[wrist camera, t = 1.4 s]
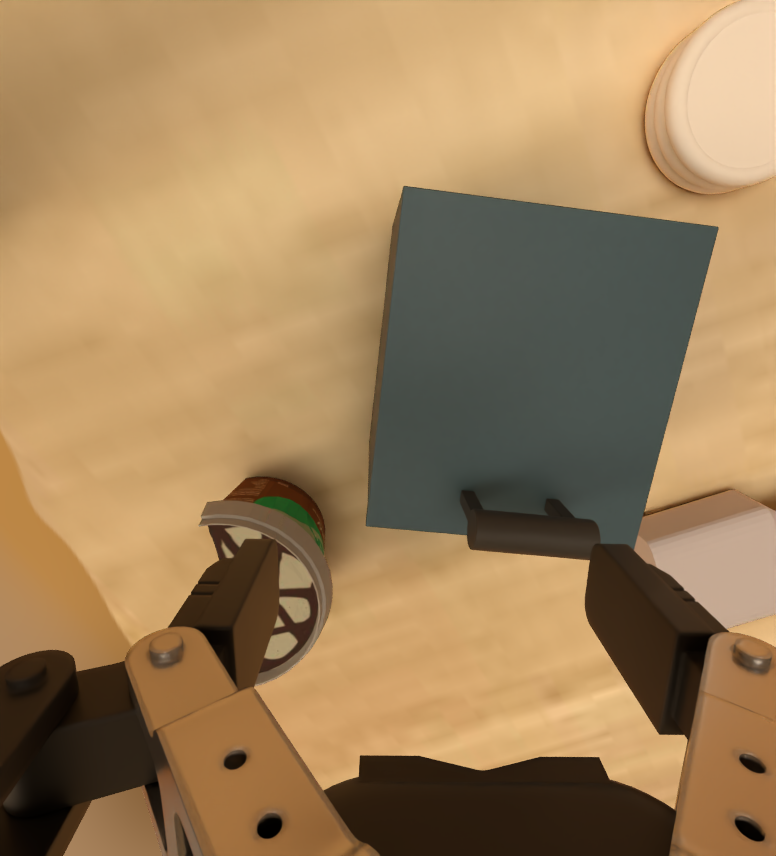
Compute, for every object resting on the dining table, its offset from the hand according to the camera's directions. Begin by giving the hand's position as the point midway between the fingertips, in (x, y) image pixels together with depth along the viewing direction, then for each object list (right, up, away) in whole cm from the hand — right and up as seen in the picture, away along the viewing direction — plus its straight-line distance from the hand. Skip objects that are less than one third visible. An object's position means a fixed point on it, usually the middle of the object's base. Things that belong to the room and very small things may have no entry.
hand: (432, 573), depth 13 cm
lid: (+6, +6, +13) cm, 15 cm away
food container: (-8, -4, +27) cm, 28 cm away
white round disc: (+20, +24, +20) cm, 38 cm away
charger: (+26, -5, +28) cm, 39 cm away
